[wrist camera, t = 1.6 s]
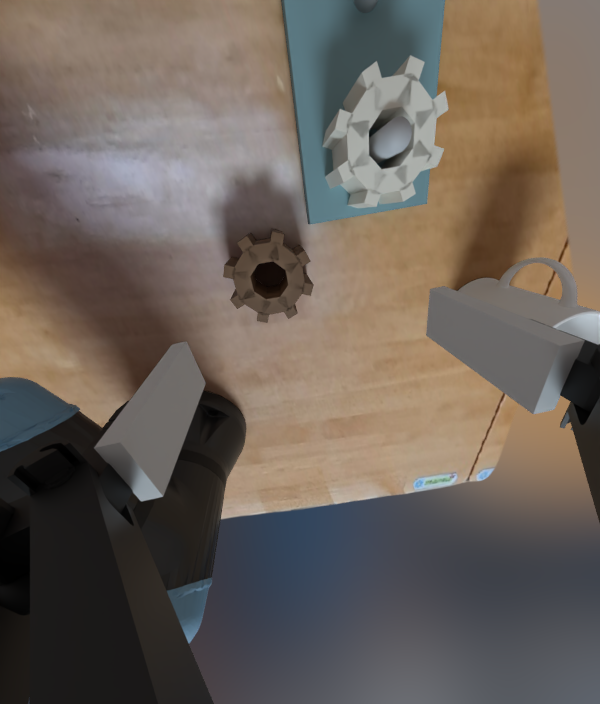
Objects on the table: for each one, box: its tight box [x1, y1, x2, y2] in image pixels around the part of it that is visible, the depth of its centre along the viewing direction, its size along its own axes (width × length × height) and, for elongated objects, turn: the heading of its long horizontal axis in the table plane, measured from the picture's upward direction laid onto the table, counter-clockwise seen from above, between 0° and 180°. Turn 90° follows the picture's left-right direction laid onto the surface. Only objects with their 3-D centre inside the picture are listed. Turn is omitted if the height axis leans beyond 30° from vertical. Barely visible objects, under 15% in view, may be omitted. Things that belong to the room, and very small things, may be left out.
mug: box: [458, 258, 600, 345], centre depth 27 cm, size 12×8×12 cm
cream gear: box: [322, 55, 449, 208], centre depth 20 cm, size 8×8×5 cm
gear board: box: [281, 0, 445, 224], centre depth 18 cm, size 12×19×8 cm, turn 9°
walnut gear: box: [223, 229, 313, 323], centre depth 26 cm, size 8×8×5 cm
